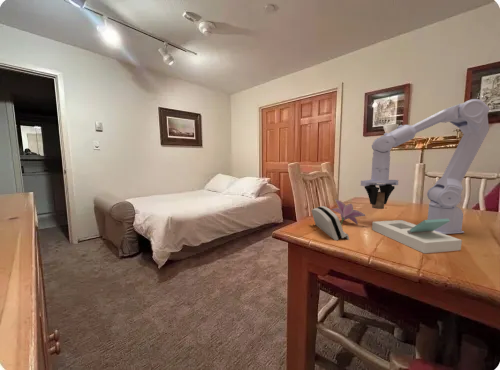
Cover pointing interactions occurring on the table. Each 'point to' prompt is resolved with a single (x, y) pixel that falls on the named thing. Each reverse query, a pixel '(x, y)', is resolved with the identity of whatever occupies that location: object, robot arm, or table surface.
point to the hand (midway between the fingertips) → (378, 204)
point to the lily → (347, 211)
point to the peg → (379, 201)
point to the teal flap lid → (428, 225)
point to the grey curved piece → (328, 222)
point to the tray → (417, 237)
